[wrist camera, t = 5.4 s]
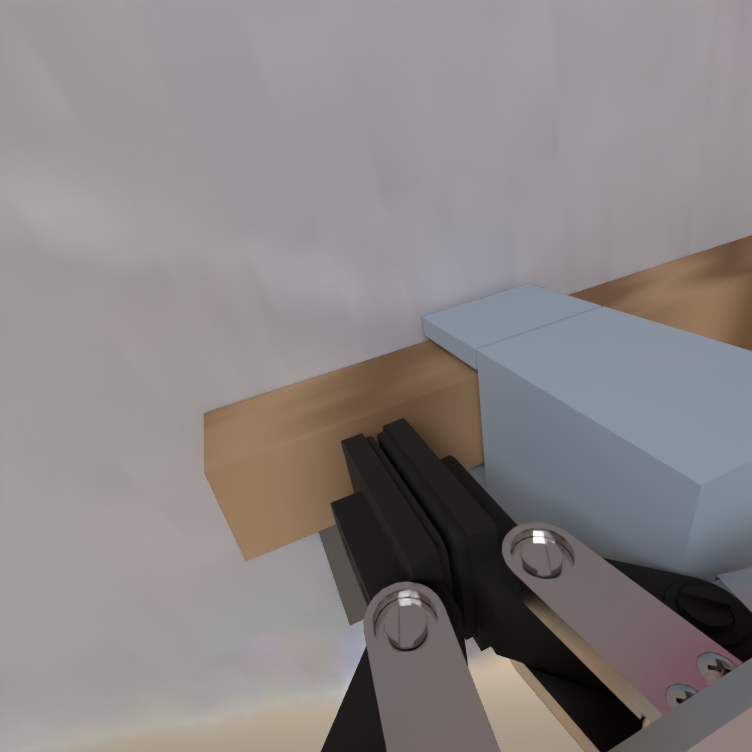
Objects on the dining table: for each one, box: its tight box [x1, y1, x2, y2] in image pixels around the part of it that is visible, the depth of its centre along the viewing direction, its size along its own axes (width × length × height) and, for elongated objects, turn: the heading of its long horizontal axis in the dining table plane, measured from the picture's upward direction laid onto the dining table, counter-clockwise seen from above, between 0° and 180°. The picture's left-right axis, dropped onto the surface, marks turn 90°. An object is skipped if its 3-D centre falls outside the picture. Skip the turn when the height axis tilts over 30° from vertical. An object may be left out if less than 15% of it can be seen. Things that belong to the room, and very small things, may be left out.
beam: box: [204, 236, 752, 561], centre depth 13 cm, size 24×11×9 cm, turn 101°
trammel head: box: [422, 284, 752, 582], centre depth 13 cm, size 4×11×9 cm, turn 11°
